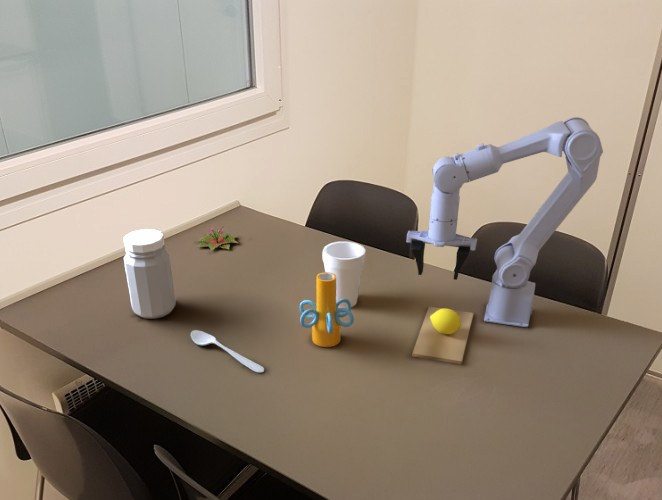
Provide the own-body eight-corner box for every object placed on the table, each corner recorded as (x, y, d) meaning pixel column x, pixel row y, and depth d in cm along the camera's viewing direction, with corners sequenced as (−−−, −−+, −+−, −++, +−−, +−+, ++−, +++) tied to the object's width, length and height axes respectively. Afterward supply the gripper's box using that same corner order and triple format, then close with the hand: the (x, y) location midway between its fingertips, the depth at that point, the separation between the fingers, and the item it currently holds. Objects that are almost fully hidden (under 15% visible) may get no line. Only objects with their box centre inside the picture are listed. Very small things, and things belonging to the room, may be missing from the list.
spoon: (200, 332, 150) (199, 326, 149) (270, 367, 138) (270, 360, 138) (185, 340, 147) (184, 334, 146) (255, 377, 136) (255, 370, 135)
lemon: (464, 331, 148) (467, 309, 146) (454, 342, 145) (457, 320, 142) (434, 322, 152) (436, 300, 149) (424, 333, 148) (426, 311, 145)
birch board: (473, 316, 155) (473, 312, 155) (461, 364, 139) (462, 361, 139) (428, 309, 158) (428, 306, 158) (412, 356, 142) (412, 353, 141)
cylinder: (362, 334, 149) (364, 271, 141) (343, 359, 141) (344, 294, 133) (311, 322, 153) (310, 260, 145) (289, 345, 145) (287, 281, 137)
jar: (123, 315, 156) (110, 241, 146) (148, 296, 163) (137, 224, 154) (160, 324, 153) (149, 249, 143) (184, 303, 160) (175, 231, 151)
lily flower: (189, 251, 184) (187, 235, 182) (203, 233, 194) (201, 217, 192) (233, 254, 182) (231, 238, 180) (244, 236, 192) (243, 220, 190)
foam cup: (359, 313, 156) (361, 261, 149) (319, 309, 158) (319, 257, 151) (366, 293, 164) (368, 243, 157) (327, 290, 166) (327, 239, 159)
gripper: (405, 220, 143) (401, 278, 150) (477, 228, 139) (469, 288, 147) (411, 207, 149) (407, 265, 156) (480, 215, 145) (473, 273, 152)
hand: (438, 275), depth 152 cm, fingers open, 7 cm apart
